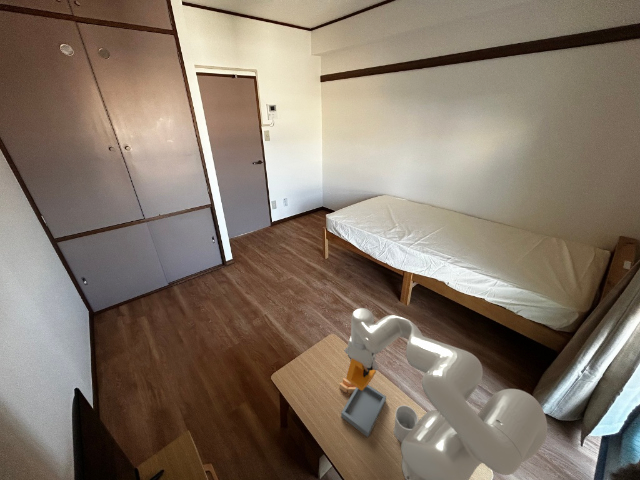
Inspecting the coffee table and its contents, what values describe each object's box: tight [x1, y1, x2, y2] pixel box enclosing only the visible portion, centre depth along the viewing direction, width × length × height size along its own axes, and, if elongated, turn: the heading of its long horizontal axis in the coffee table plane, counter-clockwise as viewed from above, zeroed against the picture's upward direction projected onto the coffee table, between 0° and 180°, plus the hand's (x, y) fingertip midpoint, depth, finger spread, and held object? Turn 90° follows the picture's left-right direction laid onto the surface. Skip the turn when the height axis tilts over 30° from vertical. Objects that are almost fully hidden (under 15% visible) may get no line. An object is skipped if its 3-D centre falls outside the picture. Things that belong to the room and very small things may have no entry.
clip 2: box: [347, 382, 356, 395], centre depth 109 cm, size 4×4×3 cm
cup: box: [393, 404, 420, 443], centre depth 92 cm, size 8×8×12 cm
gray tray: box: [340, 384, 387, 438], centre depth 102 cm, size 12×16×4 cm
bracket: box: [346, 359, 377, 390], centre depth 96 cm, size 11×7×12 cm, turn 138°
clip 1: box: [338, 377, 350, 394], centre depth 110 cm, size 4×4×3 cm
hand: (360, 370), depth 97 cm, fingers closed on bracket, 4 cm apart
